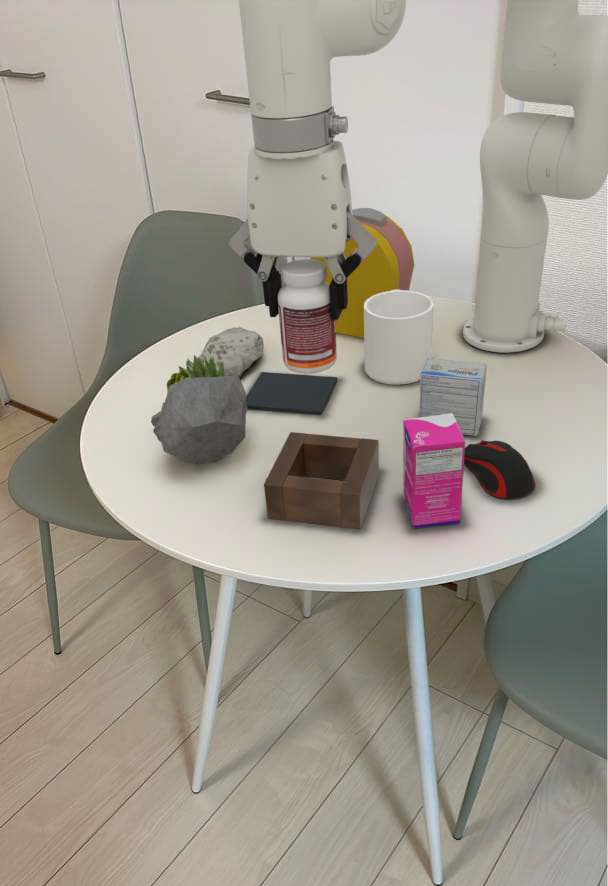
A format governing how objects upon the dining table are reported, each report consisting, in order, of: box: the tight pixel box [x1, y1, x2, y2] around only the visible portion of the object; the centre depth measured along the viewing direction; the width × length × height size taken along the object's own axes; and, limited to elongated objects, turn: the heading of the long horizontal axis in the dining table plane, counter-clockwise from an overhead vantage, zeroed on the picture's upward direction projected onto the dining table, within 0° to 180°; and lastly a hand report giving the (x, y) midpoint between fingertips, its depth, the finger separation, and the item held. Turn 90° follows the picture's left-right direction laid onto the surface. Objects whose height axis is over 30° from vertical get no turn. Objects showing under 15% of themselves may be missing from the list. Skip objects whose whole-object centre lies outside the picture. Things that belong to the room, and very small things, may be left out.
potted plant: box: [150, 354, 248, 466], centre depth 99 cm, size 12×13×15 cm
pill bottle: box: [277, 258, 338, 375], centre depth 83 cm, size 6×6×11 cm
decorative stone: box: [198, 326, 265, 379], centre depth 117 cm, size 12×11×5 cm
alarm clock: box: [310, 207, 415, 339], centre depth 121 cm, size 15×8×18 cm, turn 59°
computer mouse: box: [464, 440, 537, 500], centre depth 91 cm, size 6×11×4 cm, turn 20°
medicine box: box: [418, 358, 488, 437], centre depth 99 cm, size 8×4×9 cm, turn 71°
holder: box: [263, 431, 380, 530], centre depth 90 cm, size 11×11×5 cm
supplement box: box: [402, 413, 466, 529], centre depth 84 cm, size 6×6×12 cm
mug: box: [363, 289, 435, 386], centre depth 112 cm, size 13×10×10 cm
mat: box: [246, 371, 338, 416], centre depth 111 cm, size 12×10×1 cm
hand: (306, 311), depth 82 cm, fingers closed on pill bottle, 6 cm apart
